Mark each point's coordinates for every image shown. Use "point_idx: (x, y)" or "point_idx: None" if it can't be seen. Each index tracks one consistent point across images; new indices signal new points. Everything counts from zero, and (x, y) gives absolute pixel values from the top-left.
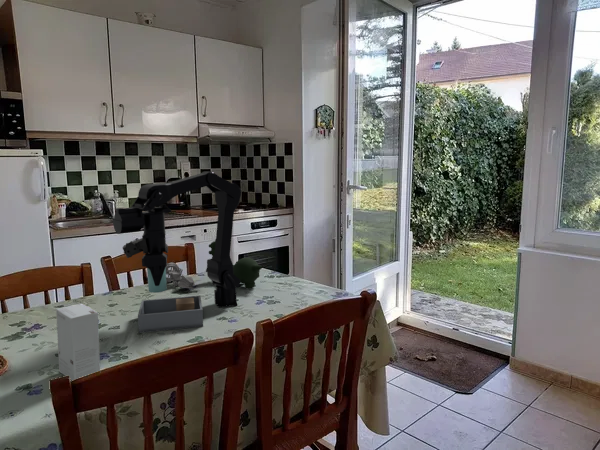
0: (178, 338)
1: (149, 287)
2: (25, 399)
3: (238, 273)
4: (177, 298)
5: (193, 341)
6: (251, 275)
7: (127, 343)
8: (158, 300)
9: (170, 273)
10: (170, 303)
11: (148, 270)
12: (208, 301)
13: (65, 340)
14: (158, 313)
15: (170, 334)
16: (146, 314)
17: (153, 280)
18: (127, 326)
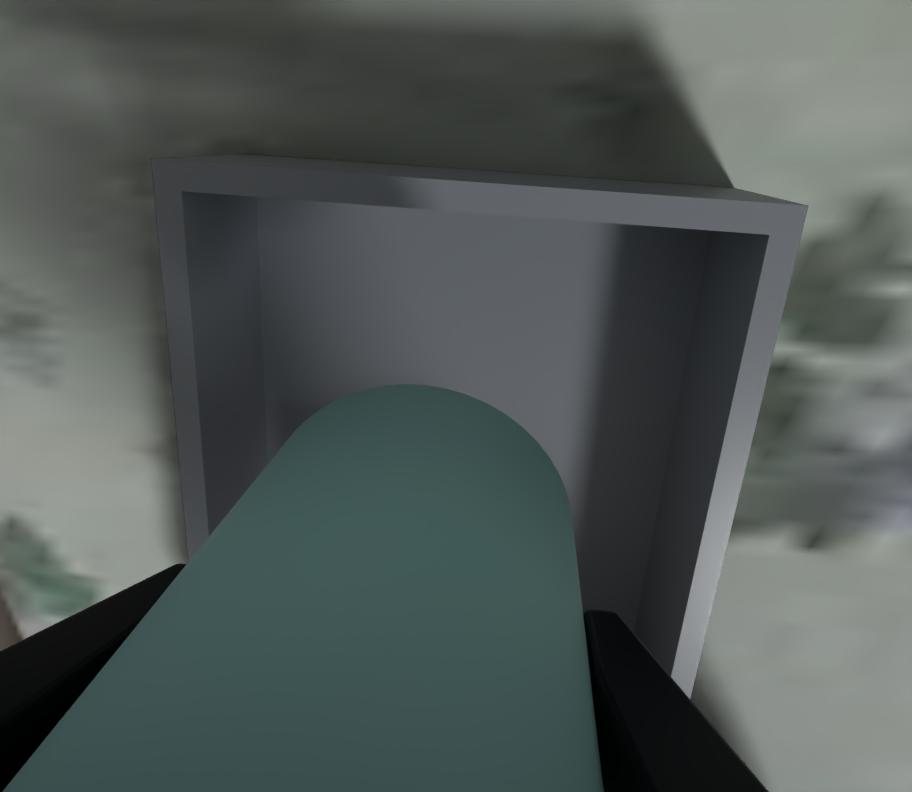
0: (69, 468)
1: (311, 436)
2: None
3: None
4: (680, 628)
5: (3, 553)
6: None
7: (13, 50)
8: (722, 424)
9: None
10: (682, 526)
11: (82, 739)
12: (864, 786)
13: None
14: (177, 400)
15: (158, 420)
16: (165, 267)
17: (58, 622)
18: (467, 20)
